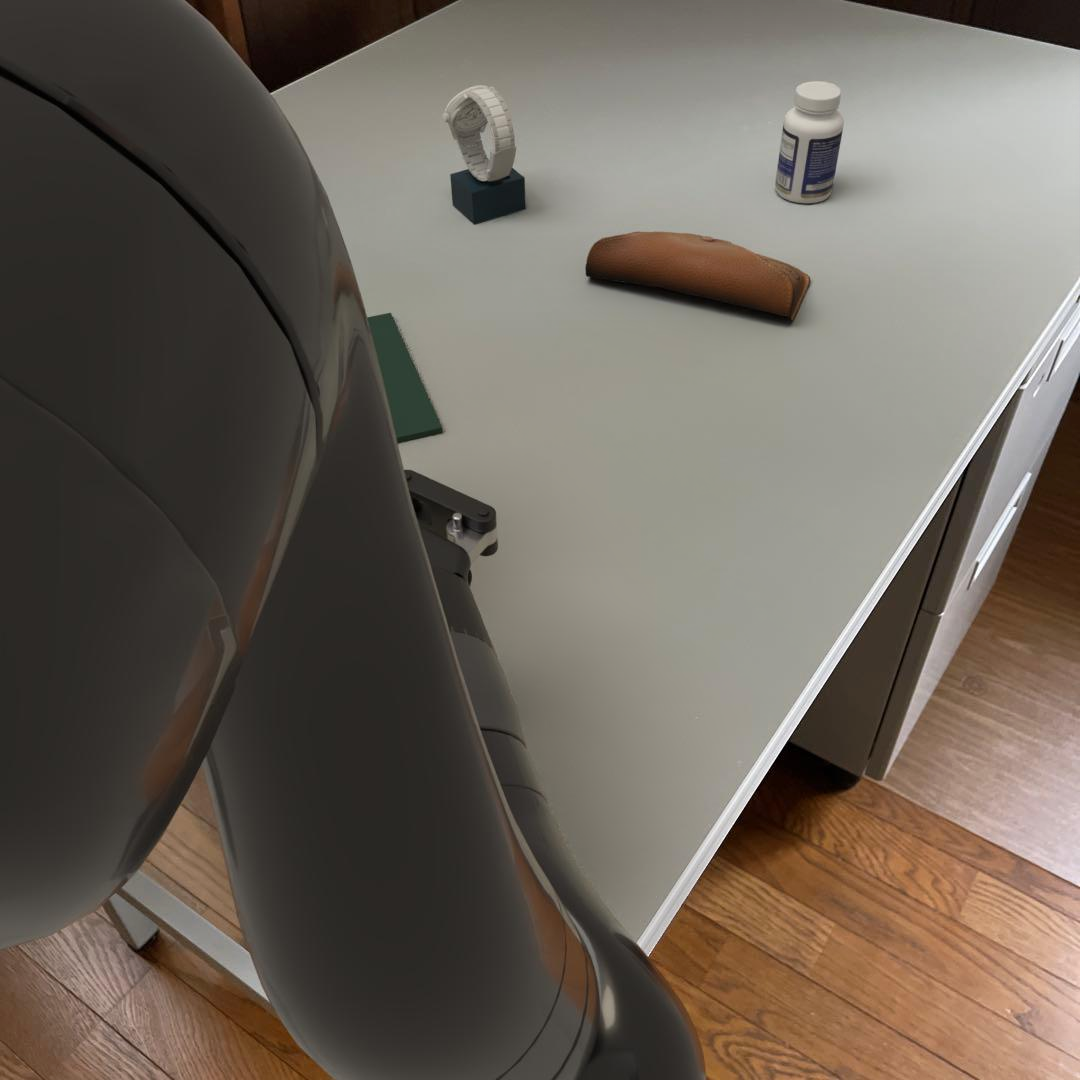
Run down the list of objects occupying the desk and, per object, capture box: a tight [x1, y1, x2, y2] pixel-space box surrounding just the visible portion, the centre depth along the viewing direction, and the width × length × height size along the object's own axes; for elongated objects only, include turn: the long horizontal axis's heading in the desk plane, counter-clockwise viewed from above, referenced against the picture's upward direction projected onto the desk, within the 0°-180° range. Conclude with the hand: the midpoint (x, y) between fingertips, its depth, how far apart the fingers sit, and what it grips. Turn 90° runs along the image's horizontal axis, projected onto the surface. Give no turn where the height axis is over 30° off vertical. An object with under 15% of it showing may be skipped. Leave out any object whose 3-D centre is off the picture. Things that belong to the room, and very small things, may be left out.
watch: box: [441, 84, 527, 225], centre depth 101 cm, size 6×8×11 cm
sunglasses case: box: [584, 231, 811, 322], centre depth 93 cm, size 18×7×7 cm, turn 67°
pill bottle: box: [774, 80, 845, 204], centre depth 102 cm, size 5×5×10 cm
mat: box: [367, 312, 443, 444], centre depth 84 cm, size 18×16×1 cm
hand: (337, 445), depth 59 cm, fingers closed
